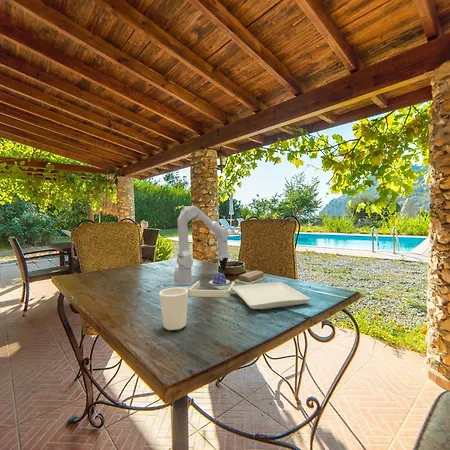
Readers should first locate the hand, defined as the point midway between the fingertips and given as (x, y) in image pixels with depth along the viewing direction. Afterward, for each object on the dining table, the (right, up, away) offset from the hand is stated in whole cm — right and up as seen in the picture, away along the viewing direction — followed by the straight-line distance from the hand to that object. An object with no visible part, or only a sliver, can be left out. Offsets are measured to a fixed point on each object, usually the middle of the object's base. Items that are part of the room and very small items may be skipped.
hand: (223, 269), depth 160 cm
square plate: (+20, -6, -44) cm, 49 cm away
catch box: (-5, -6, -29) cm, 30 cm away
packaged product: (+16, -5, -10) cm, 19 cm away
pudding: (-2, -5, -14) cm, 15 cm away
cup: (-17, -8, -70) cm, 72 cm away
